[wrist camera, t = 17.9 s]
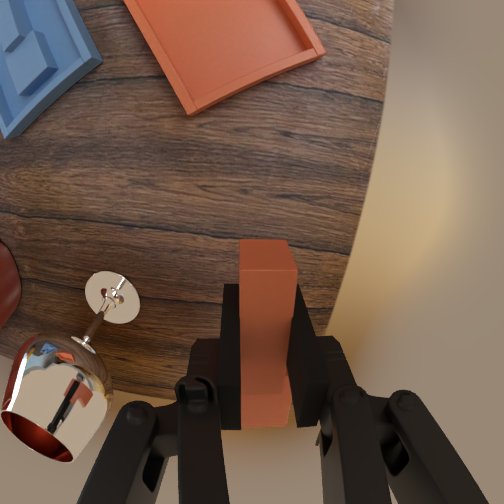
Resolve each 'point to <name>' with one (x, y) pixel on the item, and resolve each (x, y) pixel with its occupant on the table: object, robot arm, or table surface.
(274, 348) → the red offset step block
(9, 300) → the flower pot
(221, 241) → the table surface
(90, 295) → the wineglass
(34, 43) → the blue stepped block
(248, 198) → the table surface
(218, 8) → the red tray
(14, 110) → the blue tray
